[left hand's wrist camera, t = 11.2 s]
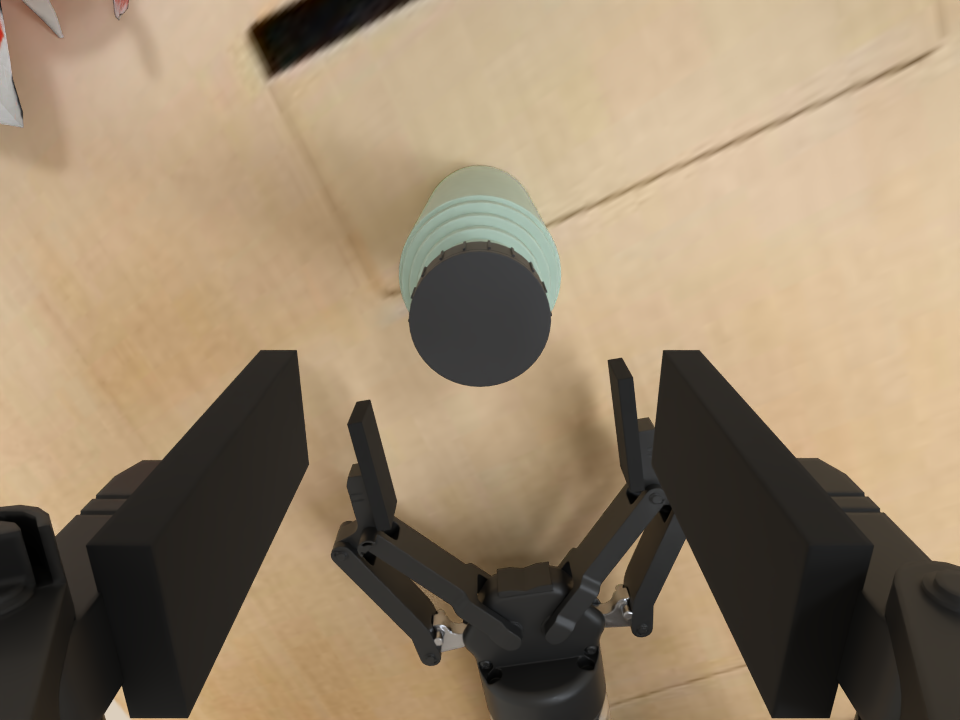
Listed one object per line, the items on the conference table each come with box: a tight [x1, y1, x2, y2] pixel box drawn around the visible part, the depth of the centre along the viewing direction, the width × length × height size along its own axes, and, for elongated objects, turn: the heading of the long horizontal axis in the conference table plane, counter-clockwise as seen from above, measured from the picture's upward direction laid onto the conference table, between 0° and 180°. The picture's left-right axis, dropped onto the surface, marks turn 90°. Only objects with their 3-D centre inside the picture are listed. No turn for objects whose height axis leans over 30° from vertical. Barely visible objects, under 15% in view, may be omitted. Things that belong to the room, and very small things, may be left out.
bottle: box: [399, 166, 561, 311], centre depth 28 cm, size 6×6×18 cm
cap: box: [408, 240, 552, 387], centre depth 21 cm, size 4×4×2 cm
